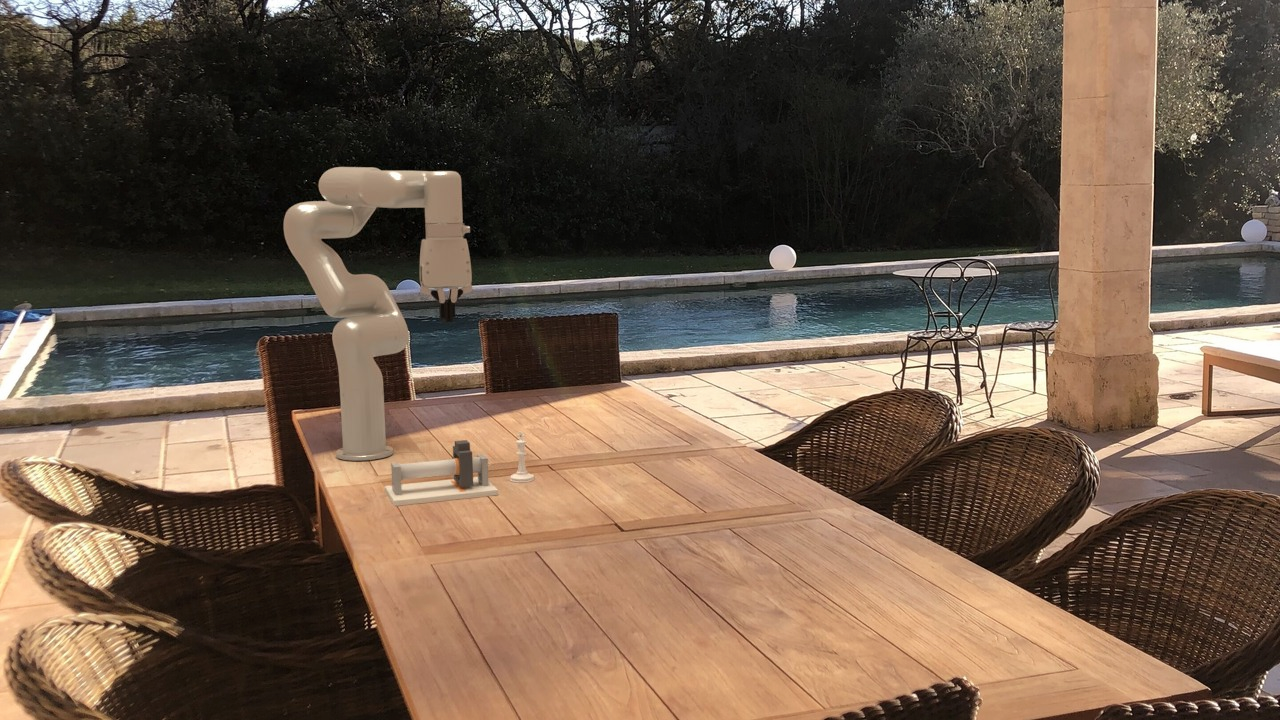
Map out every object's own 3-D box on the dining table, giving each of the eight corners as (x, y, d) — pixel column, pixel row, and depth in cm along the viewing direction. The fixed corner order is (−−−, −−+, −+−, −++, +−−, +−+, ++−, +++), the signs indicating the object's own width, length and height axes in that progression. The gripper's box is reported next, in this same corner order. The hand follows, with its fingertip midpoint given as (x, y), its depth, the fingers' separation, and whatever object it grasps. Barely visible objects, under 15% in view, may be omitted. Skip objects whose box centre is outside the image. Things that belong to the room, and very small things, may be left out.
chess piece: (530, 483, 227) (528, 434, 226) (506, 482, 228) (505, 433, 227) (537, 477, 232) (536, 429, 231) (514, 476, 233) (513, 429, 232)
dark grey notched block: (461, 487, 218) (459, 446, 217) (454, 479, 224) (452, 439, 223) (473, 486, 219) (471, 444, 218) (465, 478, 225) (464, 438, 224)
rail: (394, 506, 211) (392, 471, 210) (384, 491, 222) (383, 458, 221) (498, 494, 218) (497, 461, 217) (484, 480, 229) (482, 449, 228)
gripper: (476, 231, 235) (479, 318, 238) (404, 232, 230) (408, 321, 232) (484, 232, 228) (487, 321, 231) (410, 233, 223) (414, 325, 225)
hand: (447, 321), depth 231 cm, fingers closed
